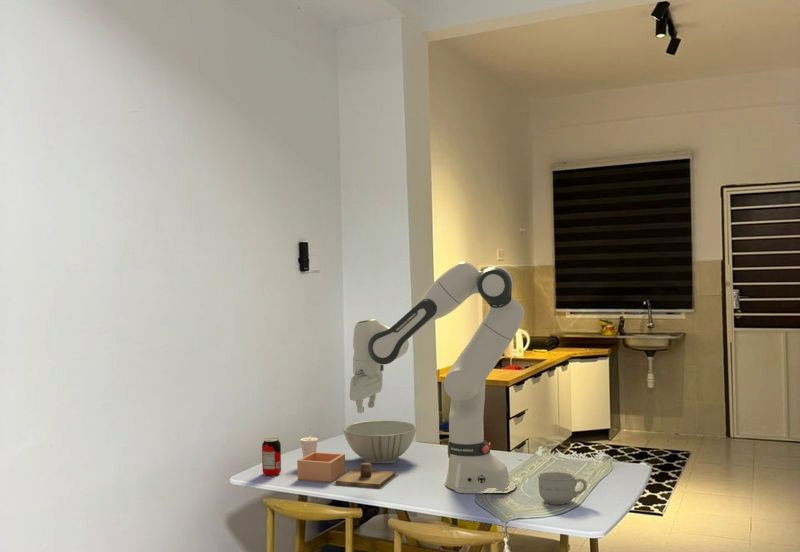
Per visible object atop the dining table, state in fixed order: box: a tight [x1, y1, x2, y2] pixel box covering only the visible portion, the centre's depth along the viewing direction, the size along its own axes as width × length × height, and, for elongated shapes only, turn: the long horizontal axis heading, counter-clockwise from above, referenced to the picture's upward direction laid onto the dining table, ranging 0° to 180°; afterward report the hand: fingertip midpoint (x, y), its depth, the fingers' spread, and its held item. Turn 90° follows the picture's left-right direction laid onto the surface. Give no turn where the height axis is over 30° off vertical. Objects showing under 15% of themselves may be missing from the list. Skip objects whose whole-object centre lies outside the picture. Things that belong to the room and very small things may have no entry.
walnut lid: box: [335, 462, 396, 488], centre depth 235 cm, size 15×15×5 cm
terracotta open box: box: [296, 451, 346, 484], centre depth 240 cm, size 12×12×7 cm
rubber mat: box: [332, 474, 399, 490], centre depth 235 cm, size 17×17×1 cm
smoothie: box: [299, 426, 319, 458], centre depth 256 cm, size 6×6×14 cm
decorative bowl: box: [343, 419, 417, 464], centre depth 262 cm, size 27×27×12 cm
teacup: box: [537, 471, 588, 505], centre depth 209 cm, size 14×11×8 cm
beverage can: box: [261, 437, 282, 477], centre depth 246 cm, size 6×6×12 cm
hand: (365, 410), depth 236 cm, fingers open, 8 cm apart
